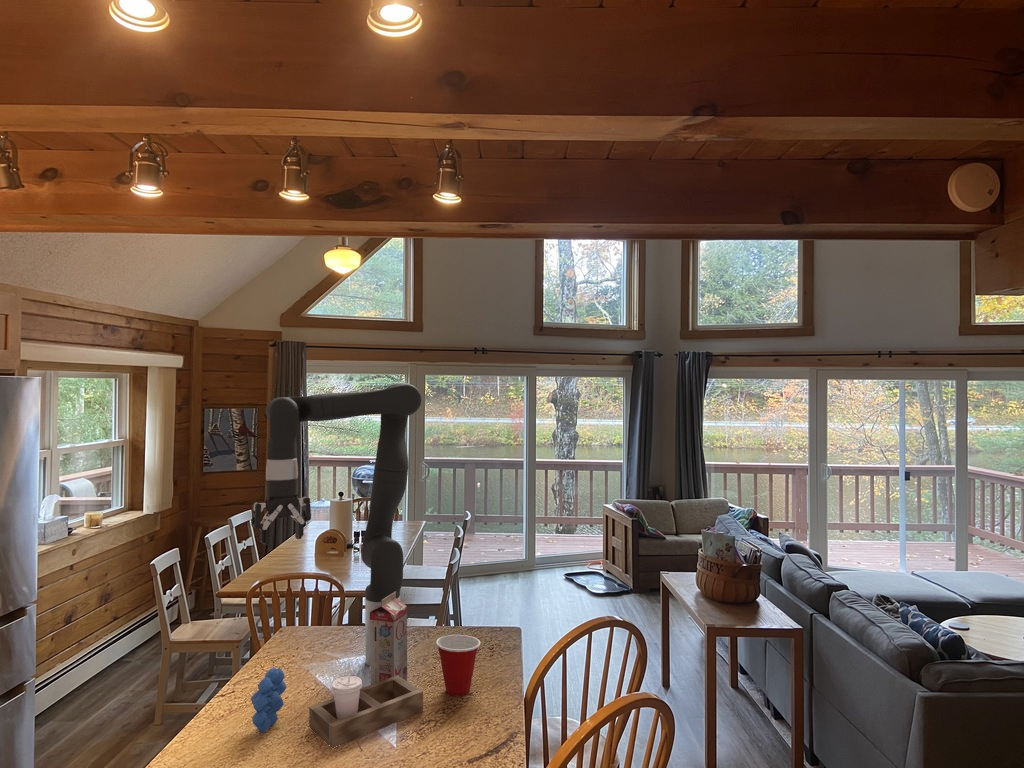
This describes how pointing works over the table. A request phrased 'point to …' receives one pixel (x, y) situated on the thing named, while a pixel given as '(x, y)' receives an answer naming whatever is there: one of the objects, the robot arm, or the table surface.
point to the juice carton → (388, 640)
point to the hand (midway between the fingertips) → (281, 541)
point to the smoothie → (346, 695)
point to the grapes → (268, 699)
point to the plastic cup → (457, 662)
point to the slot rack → (367, 711)
